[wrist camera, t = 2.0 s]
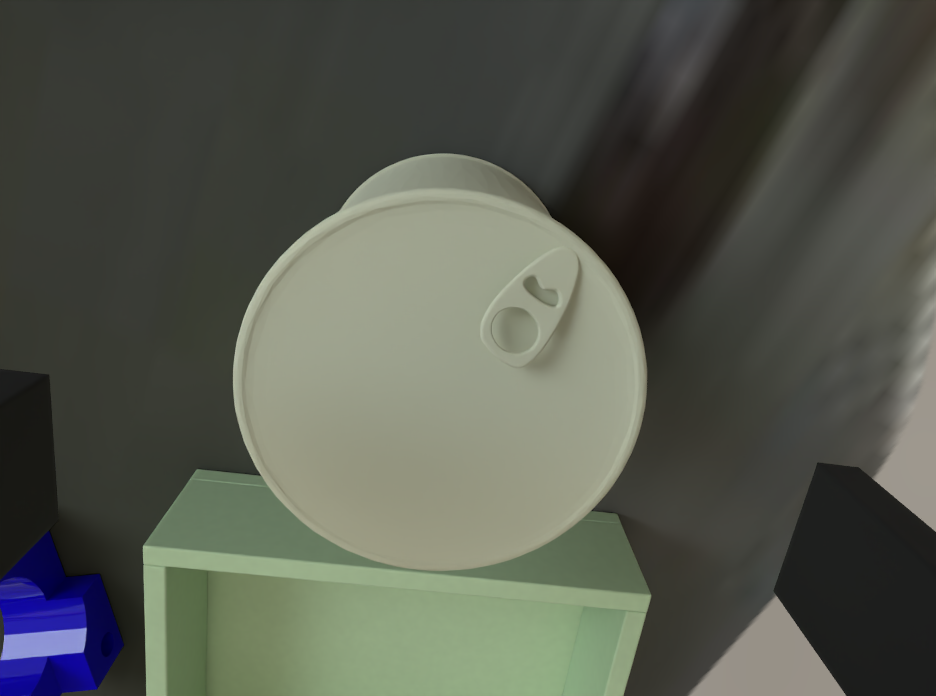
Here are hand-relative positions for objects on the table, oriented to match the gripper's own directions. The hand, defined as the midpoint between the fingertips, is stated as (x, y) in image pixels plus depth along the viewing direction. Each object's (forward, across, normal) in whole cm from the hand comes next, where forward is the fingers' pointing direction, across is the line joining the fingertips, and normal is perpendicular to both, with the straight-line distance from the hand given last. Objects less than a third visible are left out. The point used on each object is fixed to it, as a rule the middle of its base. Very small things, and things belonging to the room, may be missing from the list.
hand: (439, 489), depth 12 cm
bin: (+15, 0, -16) cm, 22 cm away
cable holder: (+15, -15, -15) cm, 26 cm away
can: (+15, 0, 0) cm, 15 cm away
